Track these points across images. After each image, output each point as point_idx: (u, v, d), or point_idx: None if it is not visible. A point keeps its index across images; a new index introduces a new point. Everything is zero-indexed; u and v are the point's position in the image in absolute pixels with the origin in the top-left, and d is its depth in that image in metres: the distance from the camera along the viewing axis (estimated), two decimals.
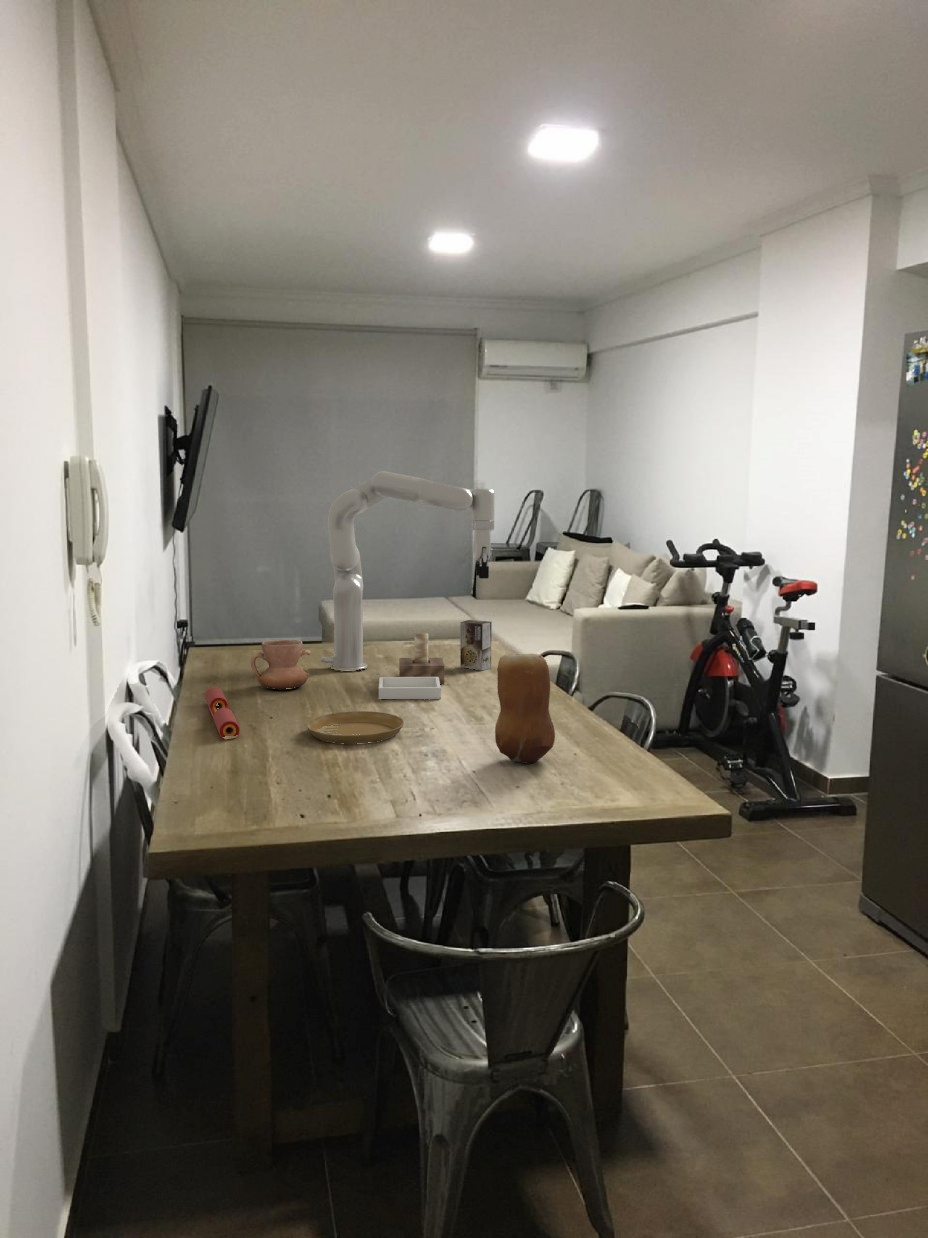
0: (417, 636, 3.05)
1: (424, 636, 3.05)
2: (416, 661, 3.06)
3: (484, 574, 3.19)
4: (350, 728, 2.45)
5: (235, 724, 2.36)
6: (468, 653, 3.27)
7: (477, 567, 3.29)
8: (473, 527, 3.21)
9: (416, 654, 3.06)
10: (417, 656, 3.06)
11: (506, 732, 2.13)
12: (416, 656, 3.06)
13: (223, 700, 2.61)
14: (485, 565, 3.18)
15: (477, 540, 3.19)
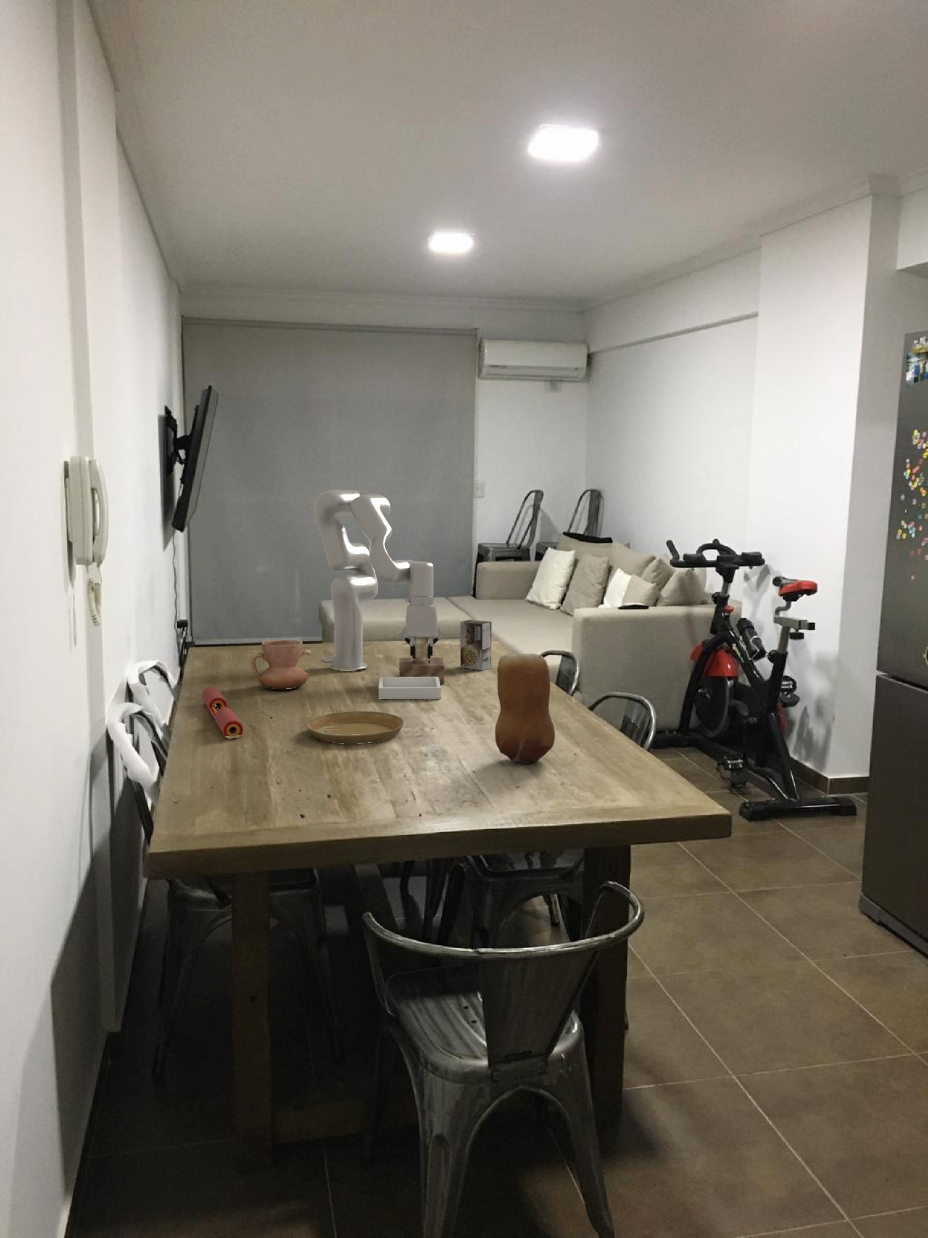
0: None
1: None
2: (416, 661, 3.06)
3: None
4: (350, 728, 2.45)
5: (239, 724, 2.36)
6: (468, 653, 3.27)
7: (414, 650, 3.06)
8: (427, 603, 3.02)
9: (416, 654, 3.06)
10: (417, 656, 3.06)
11: (506, 732, 2.13)
12: (416, 656, 3.06)
13: (222, 700, 2.61)
14: None
15: (436, 616, 3.04)
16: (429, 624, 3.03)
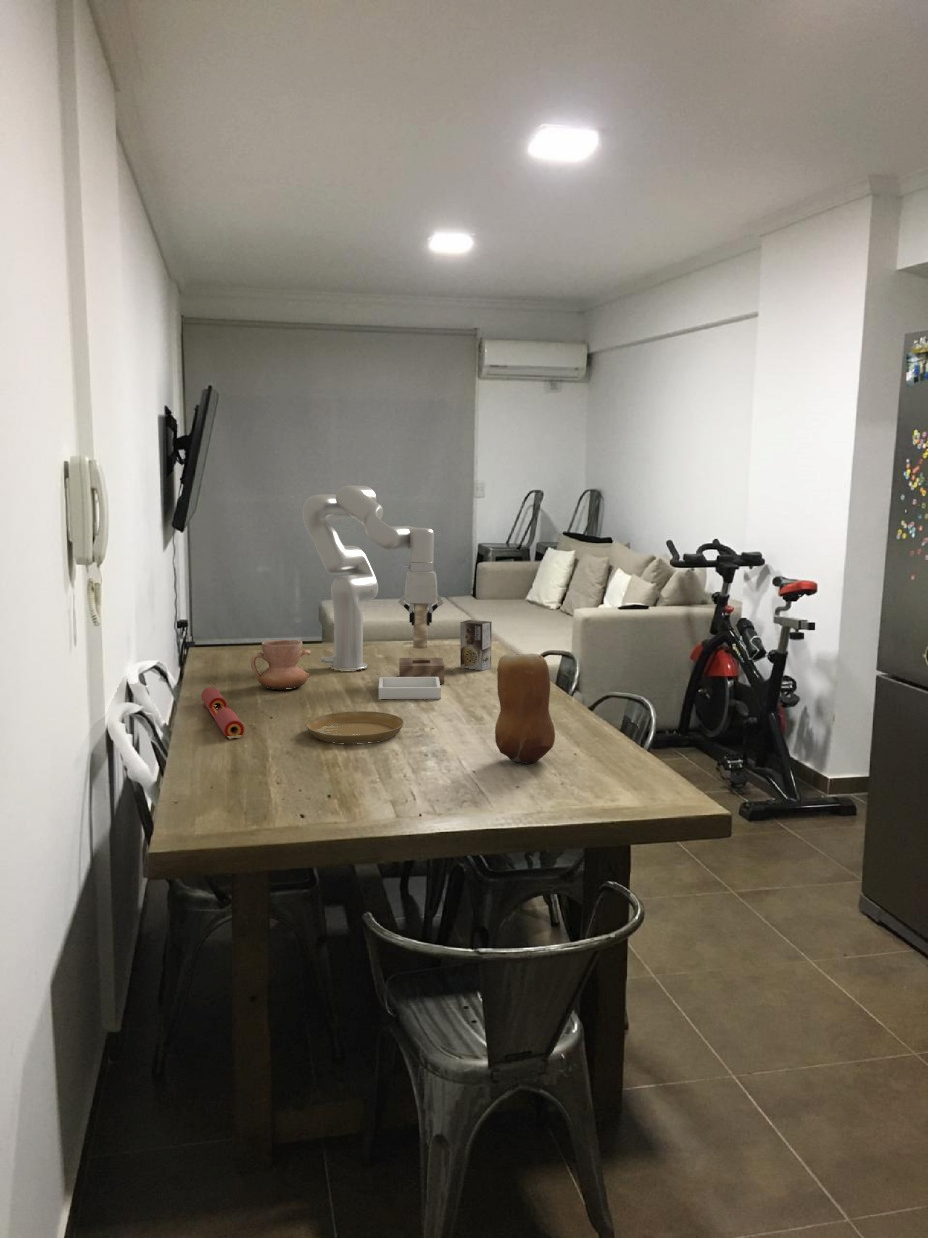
0: None
1: None
2: (415, 628, 3.05)
3: (431, 620, 3.06)
4: (350, 728, 2.45)
5: (240, 724, 2.36)
6: (468, 653, 3.27)
7: (413, 616, 3.04)
8: (427, 570, 3.00)
9: (415, 621, 3.04)
10: (416, 623, 3.04)
11: (506, 732, 2.13)
12: (415, 623, 3.04)
13: (222, 700, 2.61)
14: None
15: (435, 583, 3.02)
16: (429, 591, 3.02)
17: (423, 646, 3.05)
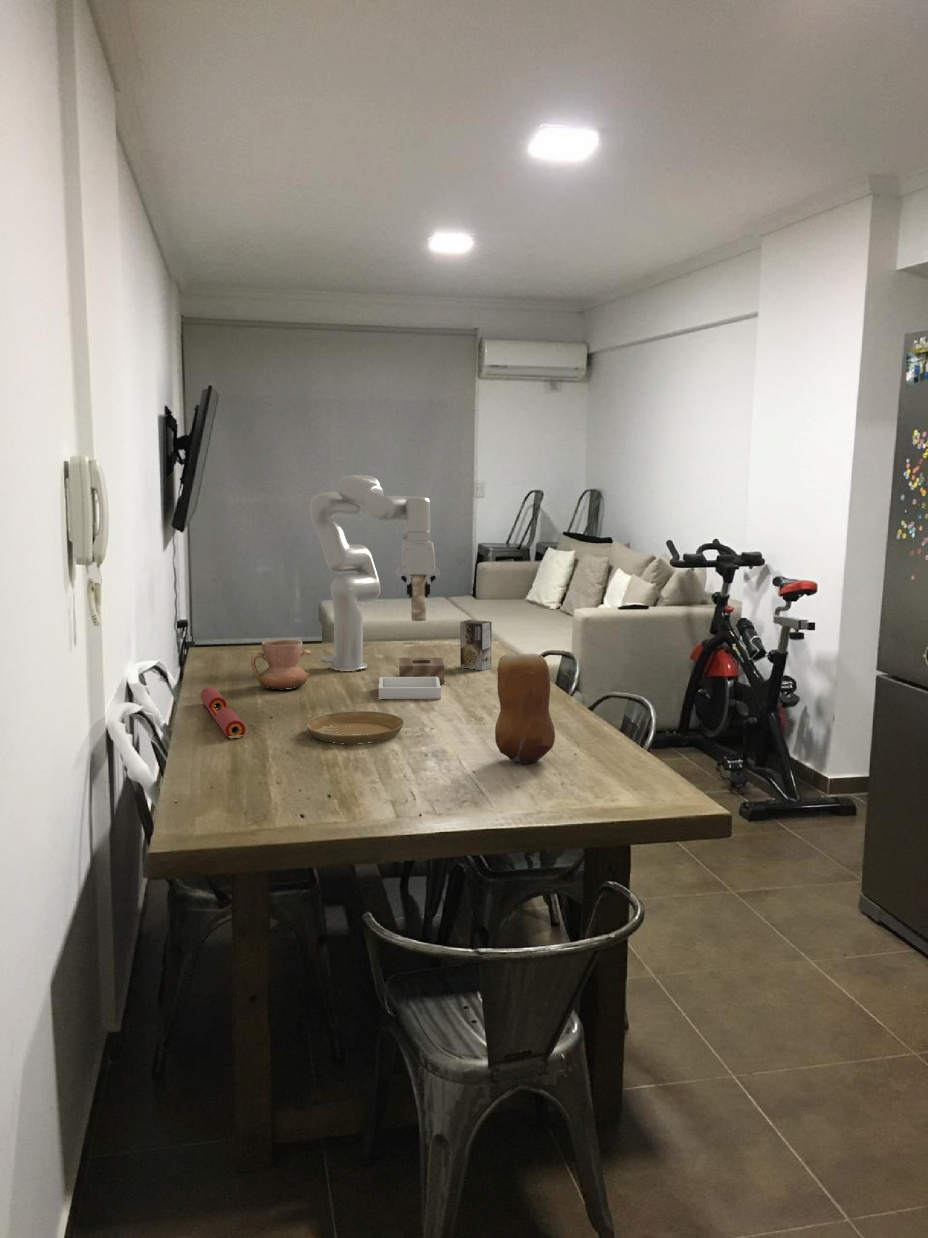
0: None
1: None
2: (413, 600, 2.96)
3: (429, 592, 2.98)
4: (350, 728, 2.45)
5: (241, 723, 2.36)
6: (468, 653, 3.27)
7: None
8: (424, 539, 2.93)
9: (413, 592, 2.96)
10: (414, 595, 2.96)
11: (506, 732, 2.13)
12: (413, 594, 2.96)
13: (222, 700, 2.61)
14: None
15: (433, 553, 2.94)
16: (426, 561, 2.94)
17: (421, 618, 2.97)
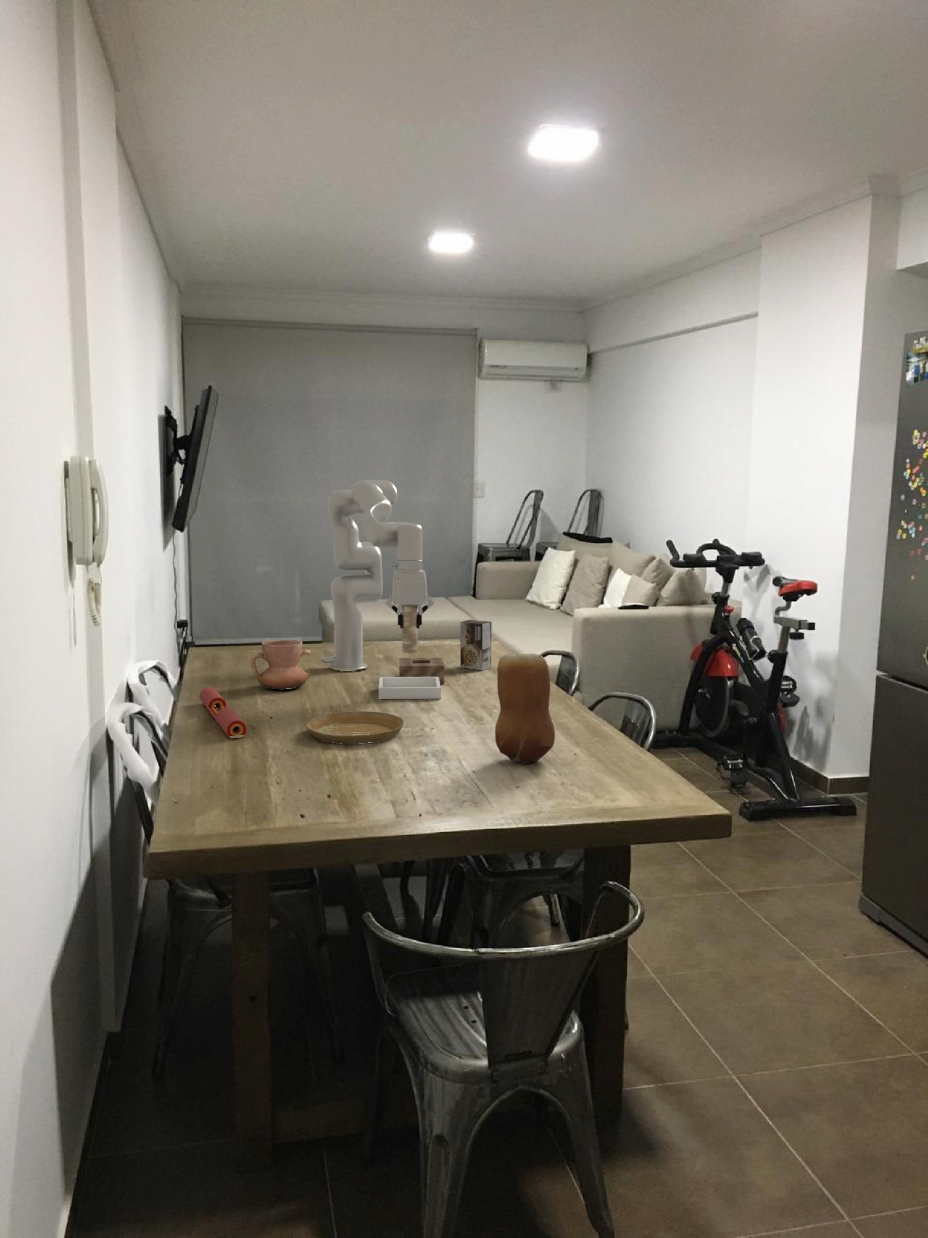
0: None
1: None
2: (404, 631, 2.84)
3: (421, 623, 2.86)
4: (350, 728, 2.45)
5: (242, 723, 2.37)
6: (468, 653, 3.27)
7: (402, 619, 2.84)
8: (415, 568, 2.80)
9: (404, 623, 2.84)
10: (405, 626, 2.84)
11: (506, 732, 2.13)
12: (404, 625, 2.84)
13: (222, 700, 2.61)
14: None
15: (425, 582, 2.82)
16: (418, 591, 2.81)
17: (413, 650, 2.84)
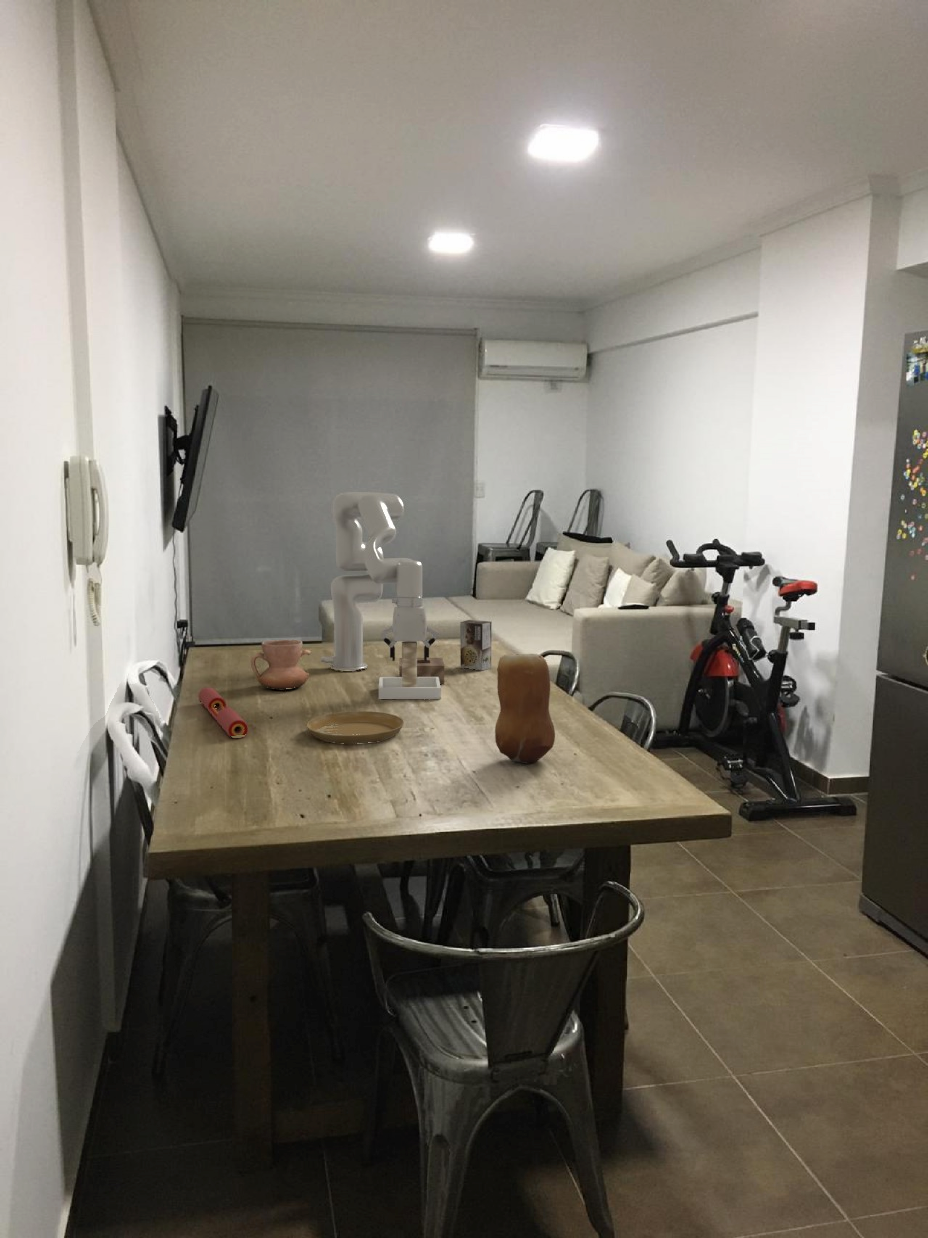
0: (405, 645, 2.84)
1: (412, 645, 2.84)
2: (404, 671, 2.86)
3: (428, 655, 2.87)
4: (350, 728, 2.45)
5: (244, 723, 2.37)
6: (468, 653, 3.27)
7: (394, 651, 2.85)
8: (415, 605, 2.81)
9: (404, 664, 2.86)
10: (404, 666, 2.85)
11: (506, 732, 2.13)
12: (404, 666, 2.86)
13: (221, 700, 2.61)
14: None
15: (425, 619, 2.83)
16: (418, 627, 2.83)
17: None
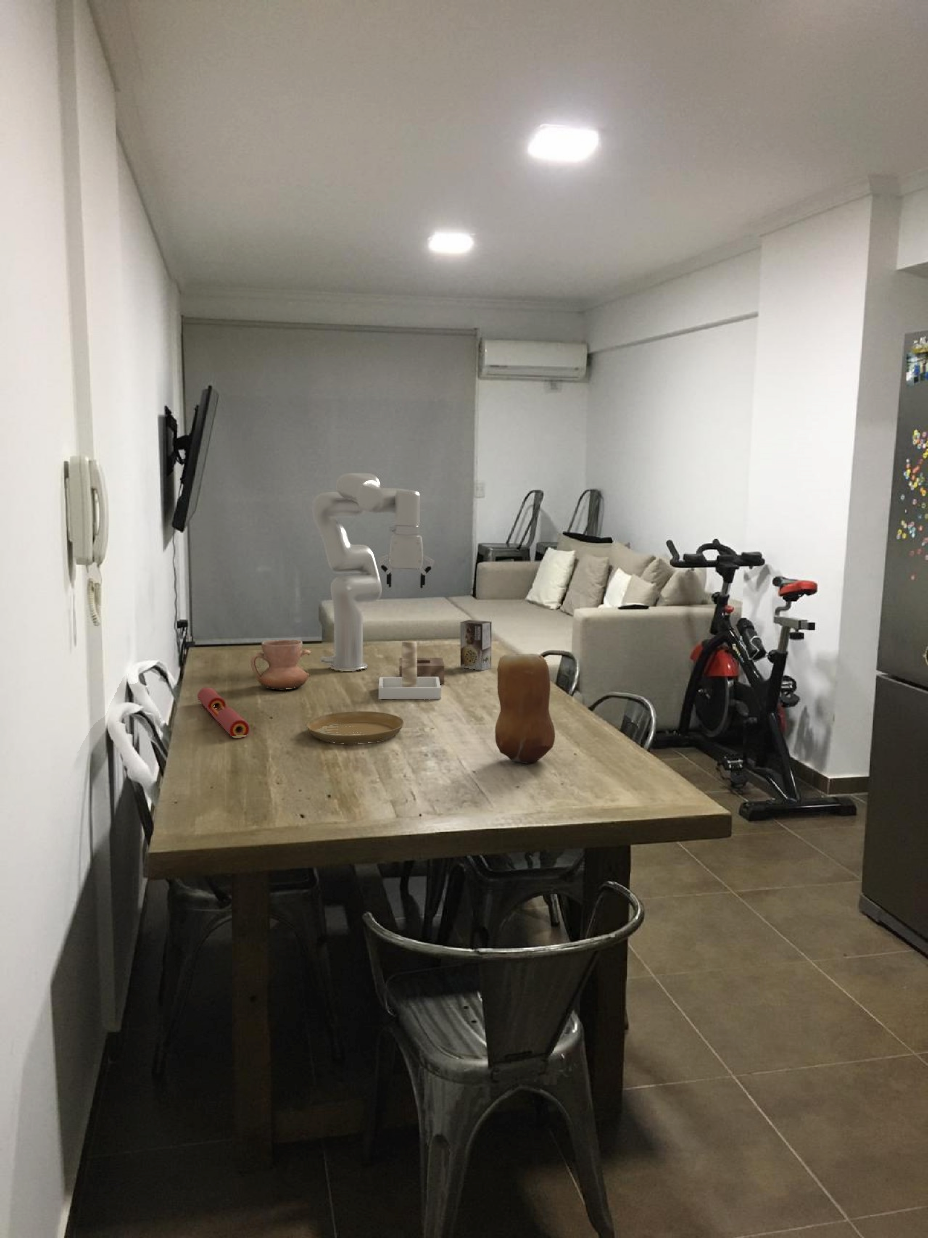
0: (405, 645, 2.85)
1: (412, 644, 2.85)
2: (404, 671, 2.86)
3: (424, 583, 2.96)
4: (350, 728, 2.45)
5: (245, 723, 2.37)
6: (468, 653, 3.27)
7: (390, 578, 2.94)
8: (412, 533, 2.90)
9: (404, 664, 2.86)
10: (404, 666, 2.86)
11: (506, 732, 2.13)
12: (404, 666, 2.86)
13: (221, 700, 2.61)
14: None
15: (421, 547, 2.92)
16: (414, 555, 2.92)
17: None
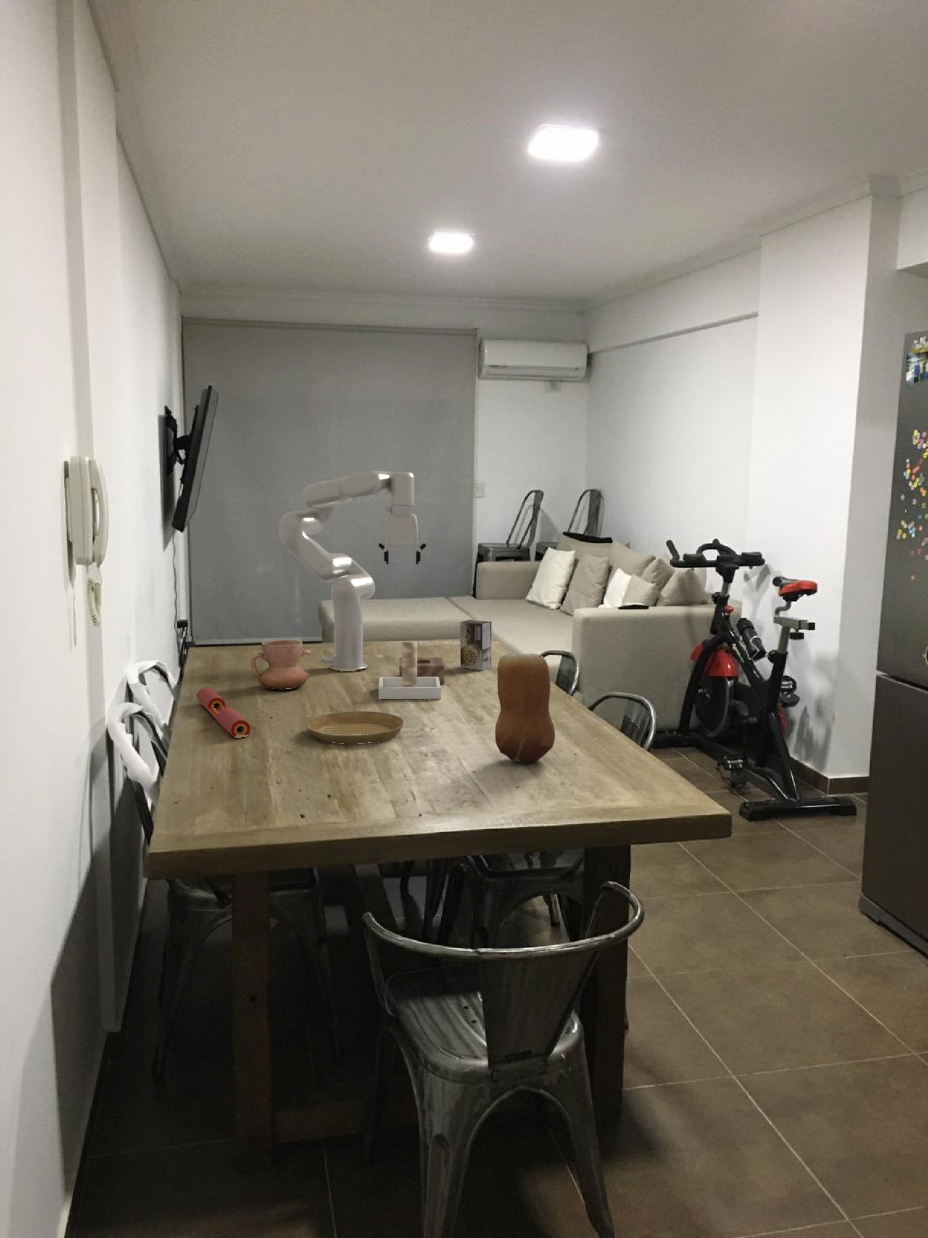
0: (405, 645, 2.85)
1: (412, 645, 2.85)
2: (404, 671, 2.86)
3: None
4: (350, 728, 2.45)
5: (246, 723, 2.37)
6: (468, 653, 3.27)
7: (388, 555, 3.11)
8: (407, 512, 3.07)
9: (404, 664, 2.86)
10: (404, 666, 2.86)
11: (506, 732, 2.13)
12: (404, 666, 2.86)
13: (221, 700, 2.61)
14: None
15: (416, 525, 3.09)
16: (409, 533, 3.09)
17: None
